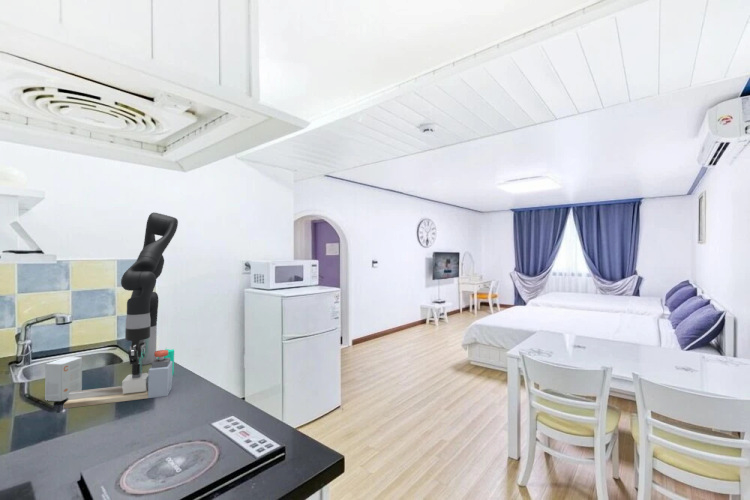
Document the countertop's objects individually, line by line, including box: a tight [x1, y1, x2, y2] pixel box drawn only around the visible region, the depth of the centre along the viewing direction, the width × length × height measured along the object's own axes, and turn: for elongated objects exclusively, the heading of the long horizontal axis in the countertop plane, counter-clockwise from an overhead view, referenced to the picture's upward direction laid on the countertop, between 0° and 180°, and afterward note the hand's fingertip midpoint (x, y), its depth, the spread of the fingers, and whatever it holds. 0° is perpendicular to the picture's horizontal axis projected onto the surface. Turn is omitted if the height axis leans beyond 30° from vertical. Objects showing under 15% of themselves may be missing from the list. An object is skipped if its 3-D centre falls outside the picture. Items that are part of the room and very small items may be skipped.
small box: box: [44, 356, 83, 402], centre depth 123 cm, size 8×6×13 cm
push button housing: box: [147, 358, 173, 399], centre depth 128 cm, size 9×6×12 cm, turn 22°
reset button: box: [154, 349, 168, 361], centre depth 128 cm, size 4×4×3 cm
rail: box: [62, 384, 149, 409], centre depth 122 cm, size 9×24×4 cm, turn 112°
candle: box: [157, 348, 175, 377], centre depth 145 cm, size 6×6×12 cm
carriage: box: [121, 354, 149, 394], centre depth 125 cm, size 7×7×13 cm
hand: (137, 372), depth 125 cm, fingers open, 3 cm apart
